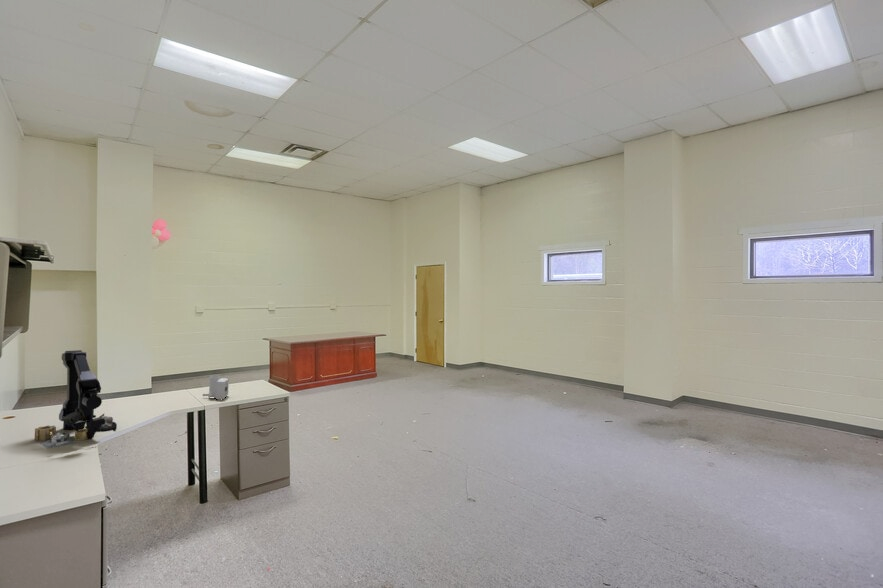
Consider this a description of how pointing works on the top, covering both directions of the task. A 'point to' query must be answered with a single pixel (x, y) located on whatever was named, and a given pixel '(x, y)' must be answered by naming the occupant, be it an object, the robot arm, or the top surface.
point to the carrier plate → (48, 443)
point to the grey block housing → (218, 387)
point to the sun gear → (61, 436)
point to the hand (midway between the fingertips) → (84, 438)
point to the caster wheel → (107, 424)
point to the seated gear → (44, 433)
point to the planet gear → (81, 434)
